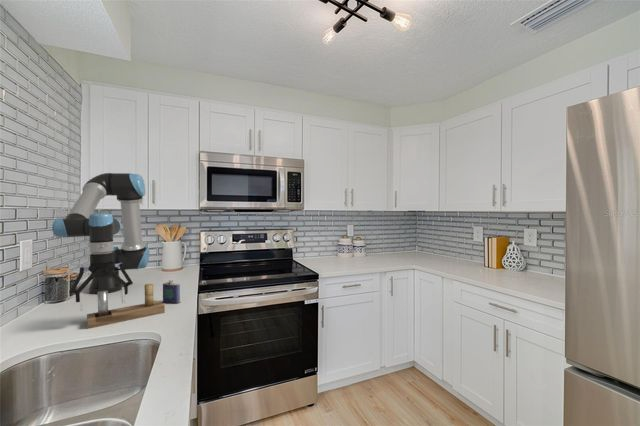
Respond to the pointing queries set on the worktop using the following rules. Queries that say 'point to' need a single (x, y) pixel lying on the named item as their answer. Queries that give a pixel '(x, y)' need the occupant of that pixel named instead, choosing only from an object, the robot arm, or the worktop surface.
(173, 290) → the flask
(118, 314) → the board
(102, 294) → the peg
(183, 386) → the worktop surface
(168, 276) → the worktop surface
